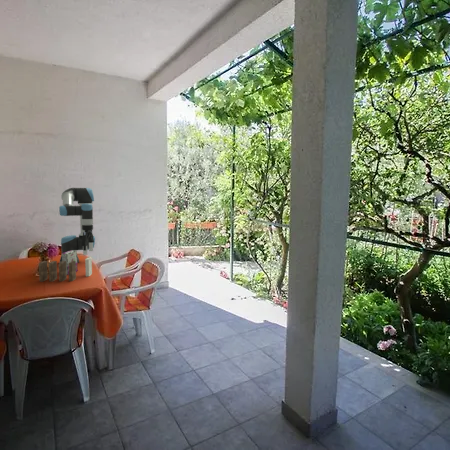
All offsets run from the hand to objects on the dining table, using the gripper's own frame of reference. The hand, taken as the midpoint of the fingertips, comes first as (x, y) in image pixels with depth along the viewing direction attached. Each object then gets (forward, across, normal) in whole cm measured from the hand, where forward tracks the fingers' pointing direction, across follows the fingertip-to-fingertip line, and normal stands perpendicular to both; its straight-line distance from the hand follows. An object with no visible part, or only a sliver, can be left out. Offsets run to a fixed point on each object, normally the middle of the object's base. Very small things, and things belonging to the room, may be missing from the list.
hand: (88, 252), depth 234 cm
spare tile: (+17, 0, 0) cm, 17 cm away
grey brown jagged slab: (+17, +12, -14) cm, 25 cm away
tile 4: (+17, +12, -8) cm, 22 cm away
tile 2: (+17, +12, -21) cm, 29 cm away
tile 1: (+17, +12, -27) cm, 34 cm away
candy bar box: (+17, -8, -16) cm, 25 cm away
